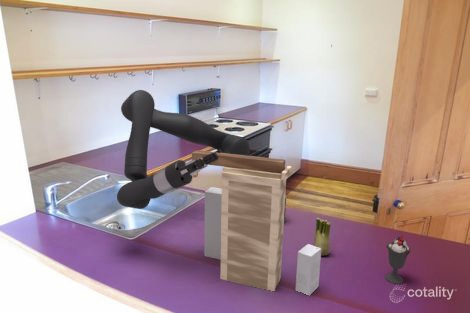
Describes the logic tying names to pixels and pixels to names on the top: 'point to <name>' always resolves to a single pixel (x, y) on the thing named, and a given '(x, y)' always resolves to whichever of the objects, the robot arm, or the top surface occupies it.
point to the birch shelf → (252, 226)
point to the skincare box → (308, 269)
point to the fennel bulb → (322, 236)
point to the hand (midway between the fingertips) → (218, 154)
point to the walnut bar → (244, 162)
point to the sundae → (397, 258)
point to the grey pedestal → (213, 222)
